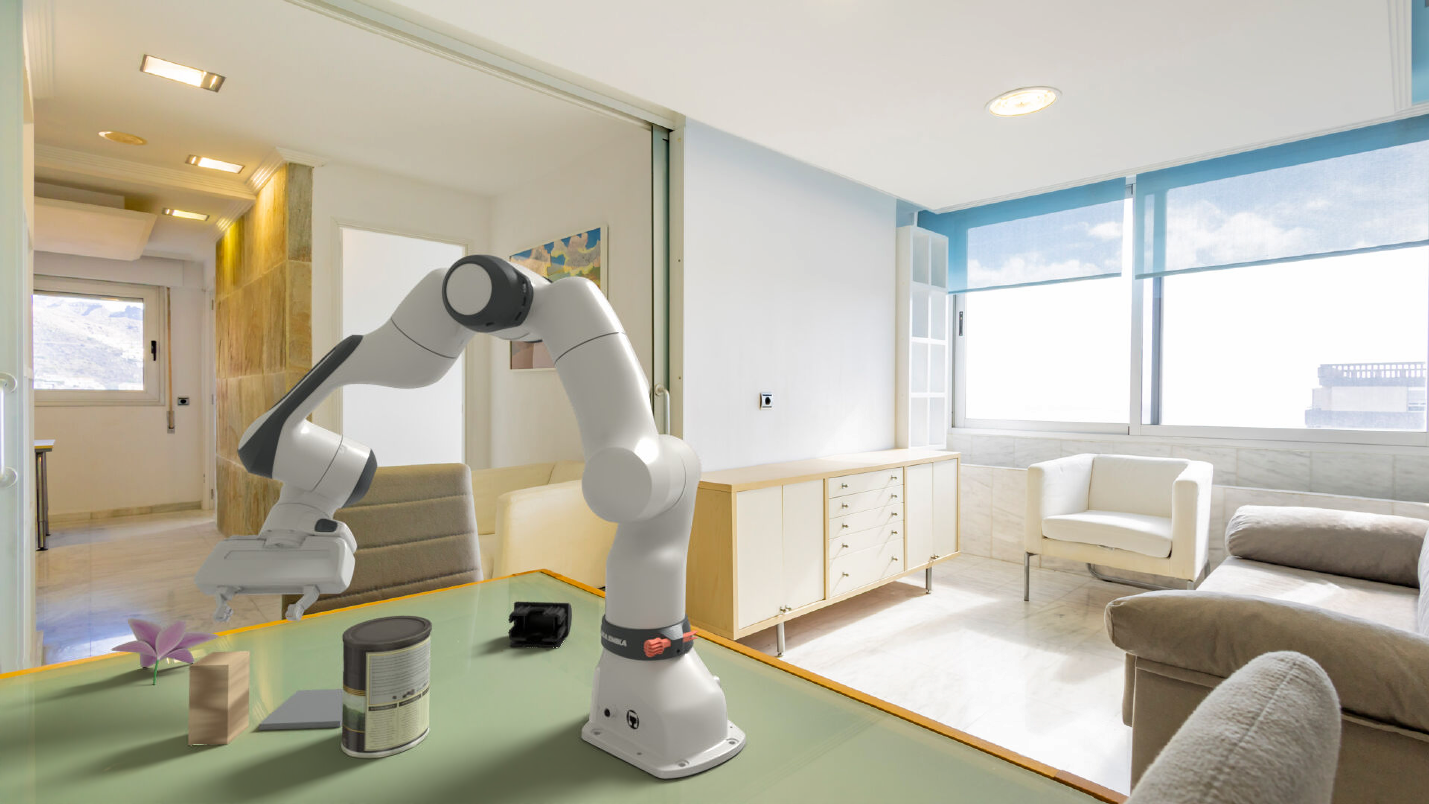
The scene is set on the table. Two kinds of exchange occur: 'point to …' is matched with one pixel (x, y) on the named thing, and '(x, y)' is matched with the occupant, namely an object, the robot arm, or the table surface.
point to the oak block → (219, 697)
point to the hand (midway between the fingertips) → (256, 619)
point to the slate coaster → (307, 711)
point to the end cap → (540, 624)
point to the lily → (162, 642)
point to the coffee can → (385, 686)
